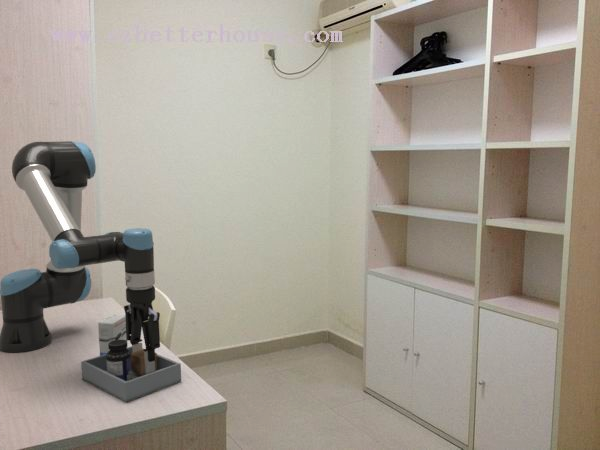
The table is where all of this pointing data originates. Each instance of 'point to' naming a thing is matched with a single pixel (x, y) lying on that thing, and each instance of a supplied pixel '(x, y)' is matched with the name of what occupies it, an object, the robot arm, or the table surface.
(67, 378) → the table surface
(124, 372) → the pill bottle
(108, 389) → the tote
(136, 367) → the walnut cube
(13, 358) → the table surface
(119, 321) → the ink box
